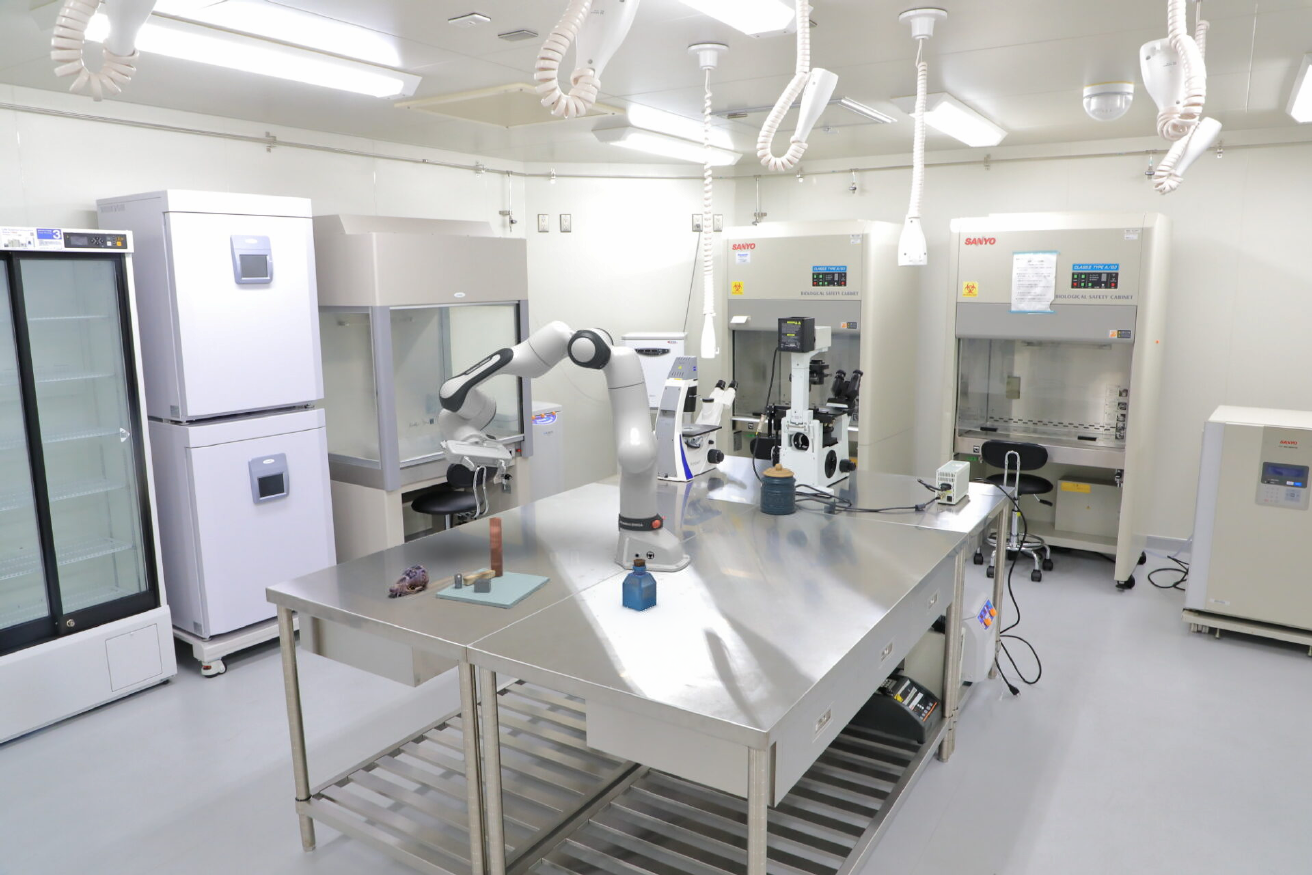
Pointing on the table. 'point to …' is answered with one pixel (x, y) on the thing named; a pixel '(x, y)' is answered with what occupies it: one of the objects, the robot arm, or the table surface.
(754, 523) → the table surface
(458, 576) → the hinge pin
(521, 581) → the board
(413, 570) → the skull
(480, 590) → the block
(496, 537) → the brown piece
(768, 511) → the canister
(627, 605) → the perfume bottle
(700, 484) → the table surface
